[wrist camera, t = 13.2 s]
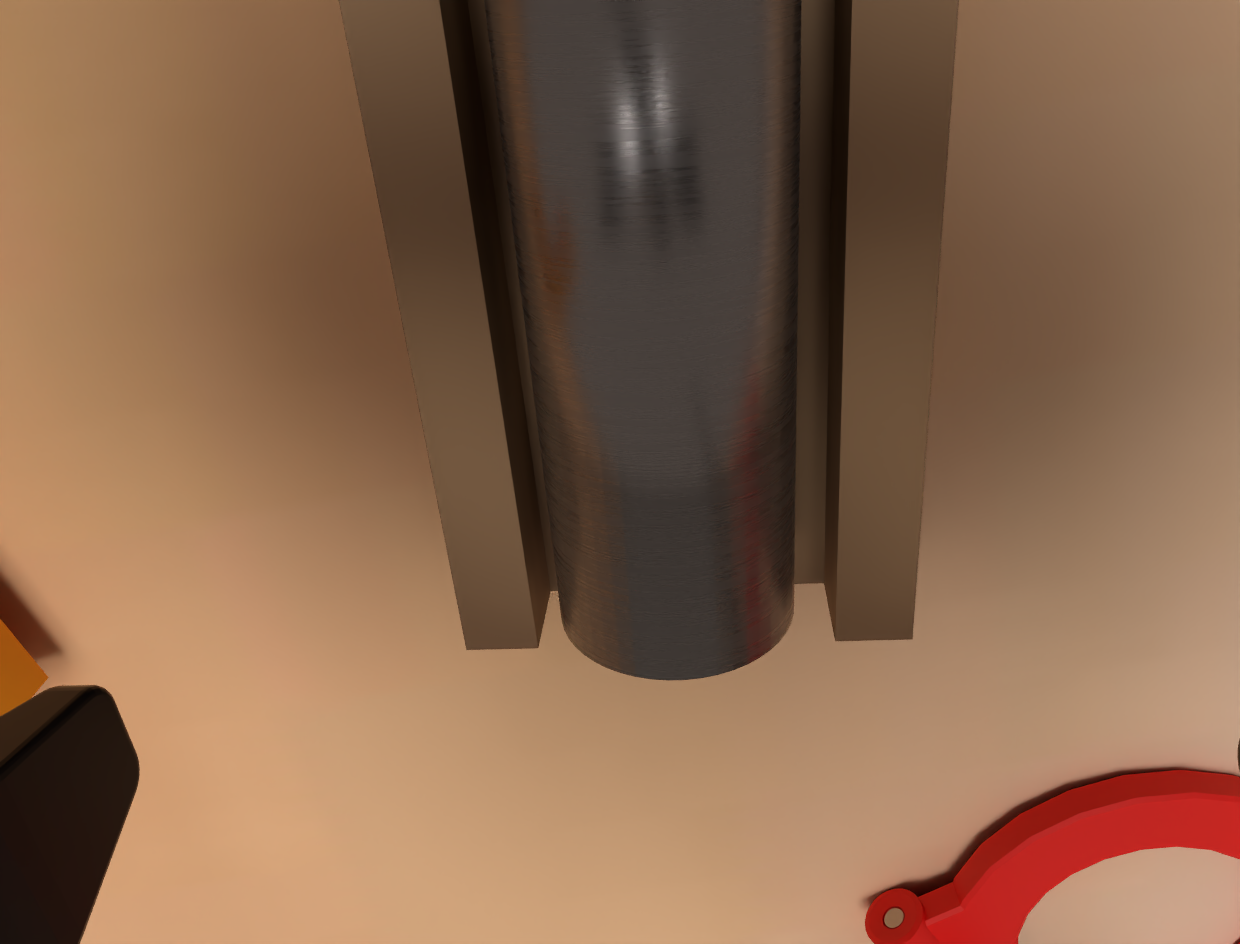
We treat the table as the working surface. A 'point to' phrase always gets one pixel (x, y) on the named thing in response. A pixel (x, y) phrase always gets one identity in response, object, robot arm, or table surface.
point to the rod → (660, 314)
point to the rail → (827, 298)
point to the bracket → (16, 672)
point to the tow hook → (1061, 854)
